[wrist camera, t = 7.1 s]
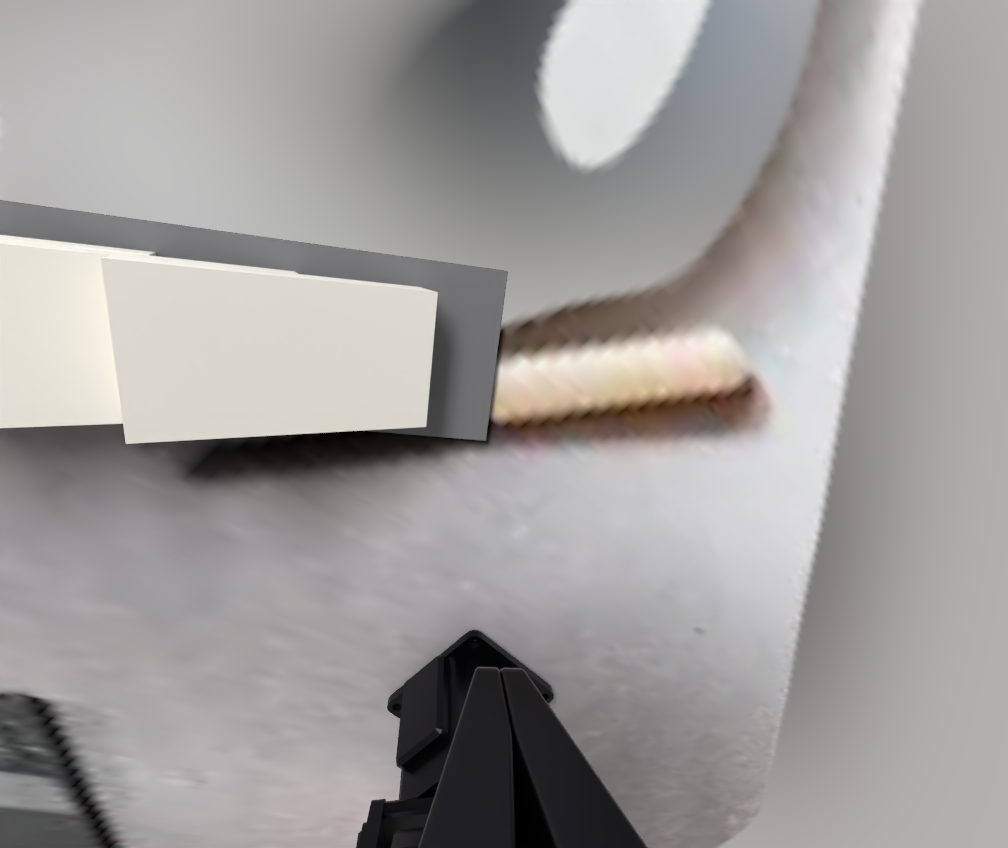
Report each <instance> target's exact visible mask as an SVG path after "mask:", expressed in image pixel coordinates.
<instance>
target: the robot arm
mask: <svg viewBox="0 0 1008 848" xmlns="http://www.w3.org/2000/svg"><path fill="white" fill-rule="evenodd" d="M472 640H476V642H471V641H472ZM552 699H553V691H552V687H551V686H550V685H549V684H547V683H546V682H545V681H544V680H542V679H541V678H540V677H538V676H537V675H536V674H534V673H533V672H532V671H531V670H529V669H528V668H527V667H525V666H524V665H523V664H521V663H520V662H519V661H518V660H516V659H515V658H514V657H512V656H511V655H510V654H508V653H507V652H506V651H505V650H503V649H502V648H501V647H499V646H498V645H497V644H495V643H494V642H493V641H492V640H490V639H489V638H488V637H486V636H485V635H484V634H482V633H481V632H479V631H476V630H472V631H469V632H467V633H466V634H465V635H464V636H462V637H461V638H460V639H459V640H458V641H456V642H455V643H454V644H453V645H451V646H450V647H449V648H448V649H447V650H445V651H444V652H443V653H442V654H441V655H439V656H437V657H436V658H435V659H433V660H432V661H431V662H430V663H429V664H427V665H426V666H425V667H424V668H422V669H421V670H420V671H419V672H418V673H416V674H415V675H414V676H413V677H412V678H410V679H409V680H408V681H407V682H406V683H405V684H404V685H403V686H402V687H401V688H399V689H398V690H397V691H396V692H395V693H393V694H392V695H391V696H390V697H389V699H388V706H387V708H388V711H389V712H390V713H392V714H394V715H395V716H397V717H398V718H400V727H399V737H398V746H397V756H396V763H397V767H399V768H401V769H402V770H401V781H400V792H399V800H395V801H386V799H380V800H372V802H371V806H370V810H369V815H368V819H367V823H363V827H362V831H361V832H360V833H358V840H357V846H356V848H648V847H647V846H646V845H645V843H644V842H643V840H642V839H641V837H640V836H639V834H638V833H637V832H636V830H635V829H634V827H633V826H632V824H631V823H630V821H629V820H628V819H627V817H626V816H625V814H624V813H623V811H622V810H621V808H620V807H619V806H618V804H617V803H616V801H615V800H614V798H613V797H612V795H611V794H610V793H609V791H608V790H607V788H606V787H605V785H604V784H603V783H602V781H601V780H600V778H599V777H598V775H597V774H596V772H595V771H594V770H593V768H592V767H591V765H590V764H589V762H588V761H587V759H586V758H585V757H584V755H583V754H582V752H581V751H580V749H579V748H578V746H577V745H576V744H575V742H574V741H573V739H572V738H571V736H570V735H569V733H568V732H567V731H566V729H565V728H564V726H563V725H562V723H561V722H560V721H559V719H558V718H557V716H556V715H555V713H554V712H553V710H552V709H551V708H550V706H549V705H548V703H549V702H550V701H551V700H552ZM396 703H399V704H396Z"/></svg>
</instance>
